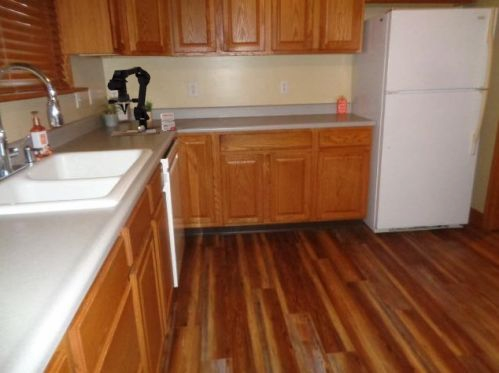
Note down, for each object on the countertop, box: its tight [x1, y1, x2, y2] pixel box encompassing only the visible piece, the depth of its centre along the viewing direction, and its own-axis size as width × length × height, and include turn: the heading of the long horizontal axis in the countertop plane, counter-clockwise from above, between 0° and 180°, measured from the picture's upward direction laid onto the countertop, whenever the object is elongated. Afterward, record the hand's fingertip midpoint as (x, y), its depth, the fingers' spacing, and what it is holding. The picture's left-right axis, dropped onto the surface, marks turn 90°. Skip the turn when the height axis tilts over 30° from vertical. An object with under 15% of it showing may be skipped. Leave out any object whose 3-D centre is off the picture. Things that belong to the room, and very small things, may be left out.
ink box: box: [159, 112, 177, 132], centre depth 255 cm, size 8×5×12 cm, turn 114°
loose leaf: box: [126, 125, 143, 133], centre depth 243 cm, size 9×10×4 cm
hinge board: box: [110, 125, 159, 138], centre depth 243 cm, size 12×28×5 cm, turn 104°
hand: (125, 114), depth 249 cm, fingers closed
